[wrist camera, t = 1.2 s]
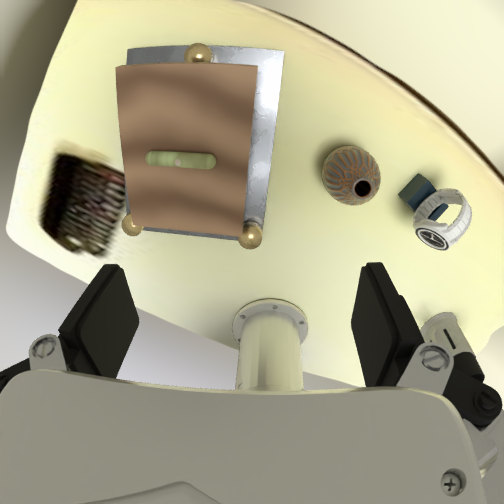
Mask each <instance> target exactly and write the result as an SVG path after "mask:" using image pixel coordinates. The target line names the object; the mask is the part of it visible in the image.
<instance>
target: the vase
mask: <svg viewBox="0 0 504 504" xmlns="http://www.w3.org/2000/svg"><path fill="white" fill-rule="evenodd" d="M322 178H323V182H324V185H325V187H326V189H327V191H328V192H329V194H330V195H331V196H332V197H333V198H334V199H336V200H337V201H339V202H341V203H343V204H347V205H361V204H364V203H366V202H368V201H369V200H371V199H372V198H373V197H374V196H375V194H376V193H377V191H378V189H379V186H380V180H381V176H380V170H379V167H378V164H377V163H376V161H375V159H374V158H373V157H372V156H371V155H370V154H369V153H368V152H366V151H365V150H363V149H361V148H358V147H355V146H344V147H340V148H337V149H335V150H334V151H332V152H331V153H330V154H329V155H328V157H327V158H326V160H325V162H324V164H323V168H322Z"/></svg>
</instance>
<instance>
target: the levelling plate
mask: <svg viewBox="0 0 504 504" xmlns="http://www.w3.org/2000/svg"><path fill="white" fill-rule="evenodd" d="M257 72H258V65H246V64H231V63H208V62H169V63H146V64H132V65H121V66H118V67H116V88H117V104H118V117H119V128H120V138H121V148H122V156H123V164H124V172H125V179H126V186H127V193H128V199H129V205H130V211H131V217H132V222H133V226H143V227H153V228H163V229H173V230H182V231H192V232H201V233H210V234H220V235H229V236H238V237H242V232H243V221H244V209H245V198H246V187H247V176H248V165H249V154H250V144H251V133H252V123H253V113H254V102H255V92H256V82H257Z"/></svg>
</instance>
